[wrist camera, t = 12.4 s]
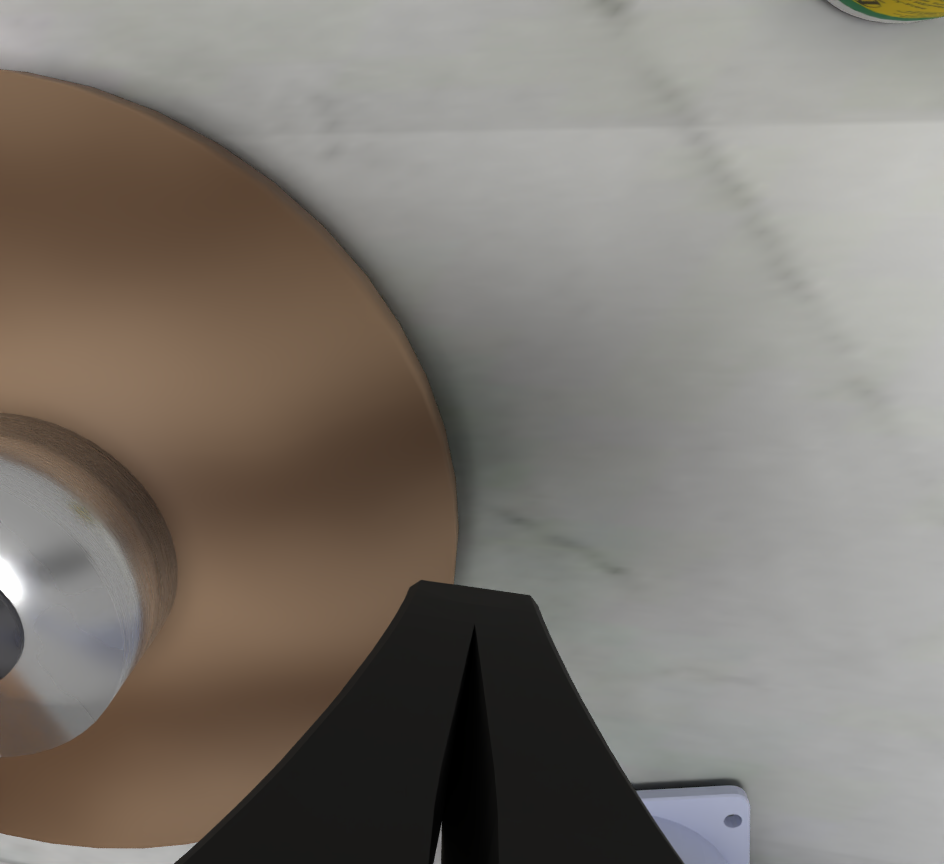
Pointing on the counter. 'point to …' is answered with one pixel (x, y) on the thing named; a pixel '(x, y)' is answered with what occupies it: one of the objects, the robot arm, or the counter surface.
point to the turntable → (209, 449)
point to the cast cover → (72, 581)
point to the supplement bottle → (892, 9)
